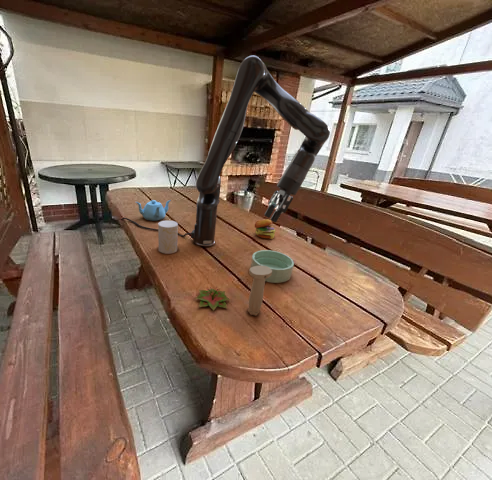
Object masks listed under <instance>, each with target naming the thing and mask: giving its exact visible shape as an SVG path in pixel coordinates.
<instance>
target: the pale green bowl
mask: <svg viewBox="0 0 492 480" xmlns="http://www.w3.org/2000/svg"><path fill="white" fill-rule="evenodd" d="M254 266H267V267H269V268H270V269H271V270H272V275H271V276H270V277H269V278H267V279H265V282H267V283H272V284H278V283H285V282H287V281H289V280H290V279H291V278H292V275H293V271H294V266H295V262H294V260H293V258H292V257H290V256H289V255H287V254H285V253H283V252H280V251H277V250H270V249H262V250H257V251H255V252H253V254H252V256H251V262H250V268H252V267H254Z"/></svg>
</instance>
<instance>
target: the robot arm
mask: <svg viewBox="0 0 492 480" xmlns="http://www.w3.org/2000/svg"><path fill="white" fill-rule="evenodd" d="M254 93H255V94H257V95H258V96H260V97H261V98H263V99H264V100H265V101H266V102H267V103H268V104H269V105H270V106H271V107H272V108H273V109H274V111H275V112H276V113H277V114H278V115H279V116H280V117H281V119H283V121H285V122H286V123H287V124H288V126H290V127H291V128H292V129H294V130H296V131H299V132H300V133H301V134H302V135H304V136H305V137H304V139H303V141H302V142H301V145H300V147H299V148H298V150H297V151H296V152H295V154H294V156H293V157H292V159H291V160H290V162H289V164H288V165H287V167H286V168H285V170H284V172H283V174H282V176H281V177H280V179H279V181H278V183H277V184H276V188H278V189H279V190H275V191H274V192H273V194H272V196H271V197H270V199H269V201H268V203H267V205H268V206H267V209H266V210H265V212H264V217H266V218H267V219H269V218H270V220H271V221H272V223H277V222H278V221H279V218H280V217H281V215H282V214H285V213H287V211H288V208H289V207H290V205H291V204H292V202H293V200H294V197H293V196H295V195H297V193H298V192H299V190H300V188H301V186H302V185H303V183H304V181H305V180H306V178H307V175H308V173H309V172H310V169H311V168H312V166H313V165H314V163H315V160H316V157H317V156H318V154H319V152H320V151H321V149H322V148H323V146H324V145H325V143H326V142H327V141H328V140H329V138H330V135H331V131H330V130H331V129H330V127H329V126H328V124H327V123H326V121H324V120H323V119H321V118H319V117H318V116H316V114H313V113H312V112H310V111H309V110H308V109H307V108H306V106H304V105H303V104H302V103H301V102H300V101H299V100H298V99H296V97H294V96H293V95H292V94H291V93H289V92H288V91H286V90H285V89H284V88H283V87H281V86H280V84H279V83H278V82H277V81H276V80H275V78H274V77H273V76H272V74H271V73H270V72H269V70H268V68H267V66H266V64H265V63H264V62H263V60H262V59H261V58H259V56H257V55H249V56H247V57H245V58H244V59H243V60H242V61H241V63H240V64H239V66H238V69H237V73H236V76H235V79H234V83H233V87H232V89H231V93H230V96H229V99H228V101H227V104H226V106H225V108H224V111H223V113H222V116H221V118H220V121H219V123H218V125H217V127H216V128H217V129H216V131H215V133H214V136H213V139H212V142H211V145H210V148H209V151H208V154H207V157H206V159H205V162H204V164H203V166H202V168H201V170H200V172H199V173H198V176H197V178H196V181H195V187H196V189H197V191H198V192H199V194H198V198H197V200H196V209H195V210H196V214H195V223H194V227H193V228H194V229H192V231H191V232H186V233H184V234H180V233H179V232H178V236H179V237H182V238H184V237H186V236H190V239H193V245H197V246H199V247H205V248H206V247H207V248H208V247H213V246H214V245H215V241H216V240H215V238H216V228H217V217H218V216H217V215H218V205H219V204H218V202H219V200H220V196H221V195H220V194H221V186H222V184H221V181H222V180H221V177H220V176H221V173H222V170H223V168H224V166H225V164H226V163H227V161H228V159H229V158H230V156H231V155H232V153H233V151H234V149H235V147H236V146H237V143H238V142H239V140H240V137H241V135H242V132H243V129H244V125H245V121H246V115H247V110H248V107H249V106H248V105H249V103H250V100H251V98H252V97H253V94H254ZM219 203H220V202H219ZM274 210H275V211H274ZM123 220H127V221H129V222H130V223H133V224H134V225H136V226H137V227H139V228H142V229H145V230H150V231H157V232H158V228H152V227H147V226H143V225H142V224H139V223H137V222H136V221H134V220H132V219H130V218H128V217H122V218H121V219H120V221H123Z"/></svg>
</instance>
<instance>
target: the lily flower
mask: <svg viewBox="0 0 492 480" xmlns="http://www.w3.org/2000/svg"><path fill="white" fill-rule="evenodd" d="M209 288H210V289H209ZM209 288H207V289H198V290H199V291H198V292H199V295H197V296H196V297H195V299H196V300H200V301H199V305H198V308H202V307H209V308H211V309H212V311H213V312H214V311H215V310H216V308H217V307H220V308H224V309H228V305H227V303H226V301H231V299H230V298H229V297H228V296H227V295H226V290H219V288H218V286H216V287H215V289H214V288H212V287H211V286H209Z"/></svg>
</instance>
